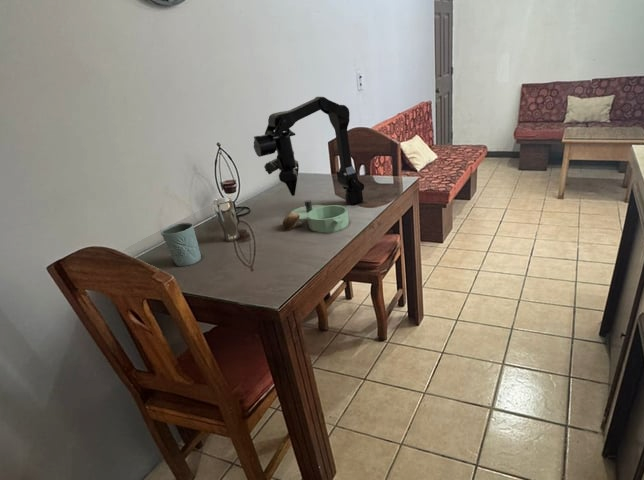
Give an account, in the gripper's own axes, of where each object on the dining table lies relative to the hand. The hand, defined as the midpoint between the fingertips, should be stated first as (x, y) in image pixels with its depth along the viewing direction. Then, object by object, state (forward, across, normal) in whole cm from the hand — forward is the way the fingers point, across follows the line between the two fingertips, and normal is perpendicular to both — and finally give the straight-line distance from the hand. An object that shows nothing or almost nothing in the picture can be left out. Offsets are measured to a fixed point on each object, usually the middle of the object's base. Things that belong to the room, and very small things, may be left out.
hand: (293, 192), depth 161 cm
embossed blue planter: (+12, +22, -38) cm, 46 cm away
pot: (+12, +8, +11) cm, 18 cm away
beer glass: (+12, +8, -25) cm, 29 cm away
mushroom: (+13, +6, -3) cm, 14 cm away
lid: (+12, -8, +4) cm, 15 cm away
